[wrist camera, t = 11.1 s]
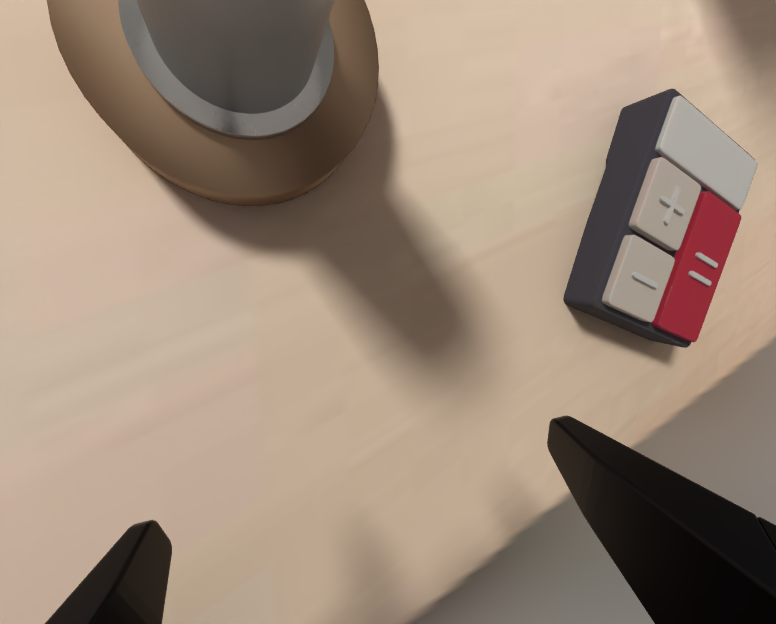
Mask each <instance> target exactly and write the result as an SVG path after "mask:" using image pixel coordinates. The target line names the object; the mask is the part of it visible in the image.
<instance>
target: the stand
mask: <svg viewBox="0 0 776 624" xmlns="http://www.w3.org/2000/svg"><path fill="white" fill-rule="evenodd" d="M47 4H48V9H49V15H50V21H51V26H52V29H53V32H54V35H55V38H56V42H57V45H58V48H59V51H60V53H61V55H62V57H63V59H64V61H65V63H66V66H67V68H68V70H69V72H70V74H71V76H72V77H73V79H74V81H75V82H76V84H77V85H78V87H79V89H80V90H81V92H82V93H83V95H84V97H85V98H86V99H87V100H88V102H89V103H90V104H91V106H92V107H93V108H94V109H95V111H96V112H97V113H98V114H99V116H100V117H101V118H102V119H103V120H104V121H105V122H106V124H107V125H108V126H109V127H110V128H111V129H112V130H113V131H114V132H115V133H116V134H117V135H118V136H119V138H120V139H121V140H122V141H123V142H124V143H125V144H126V145H127V146H128V147H129V148H130V149H131V150H132V151H133V152H134V153H135V154H136V155H137V156H138V157H139V158H140V159H141V160H142V161H143V162H144V163H146V164H147V165H148V166H149V167H150V168H152V169H153V170H154V171H155V172H157V173H158V174H160V175H161V176H163V177H164V178H166V179H167V180H169V181H170V182H172V183H173V184H175V185H177V186H179V187H181V188H183V189H185V190H187V191H189V192H191V193H194V194H196V195H199V196H202V197H205V198H207V199H210V200H215V201H219V202H223V203H227V204H235V205H244V206H262V205H269V204H276V203H280V202H284V201H288V200H291V199H294V198H296V197H298V196H301V195H303V194H305V193H307V192H309V191H310V190H312V189H314V188H315V187H317V186H318V185H320V184H321V183H322V182H323V181H324V180H325V179H327V178H328V177H329V176H330V175H331V174H332V173H333V171H334V170H335V169H336V168H337V167H338V166H339V165H340V163H341V162H342V161H343V160H344V159H345V158H346V156H347V155H348V154H349V153H350V152H351V150H352V149H353V148H354V147H355V145H356V144H357V142H358V141H359V139H360V138H361V136H362V134H363V133H364V130H365V128H366V126H367V124H368V122H369V120H370V117H371V114H372V110H373V107H374V104H375V99H376V93H377V88H378V73H379V64H378V49H377V43H376V38H375V32H374V28H373V24H372V21H371V17H370V14H369V11H368V8H367V6H366V3H365V1H364V0H335V2H334V5H333V8H332V11H331V14H330V17H329V22H330V26H331V30H332V35H333V43H334V64H333V72H332V76H331V80H330V83H329V86H328V88H327V91H326V93H325V96H324V98H323V100H322V102H321V103H320V105H319V107H318V109H317V110H316V111H315V112H314V114H313V115H312V116H311V117H310V118H309V119H308V120H307V121H306V122H305V123H304V124H302V125H301V126H299V127H298V128H296V129H295V130H293V131H291V132H289V133H287V134H284V135H282V136H278V137H275V138H271V139H264V140H243V139H235V138H231V137H226V136H222V135H219V134H217V133H214V132H211V131H209V130H206V129H204V128H203V127H201V126H199V125H197V124H195V123H193V122H192V121H190V120H188V119H187V118H185V117H184V116H182V115H181V114H180V113H178V112H177V111H176V110H175V109H174V108H172V107H171V106H170V105H169V104H168V103H167V102H166V101H165V100H164V99H163V98H162V97H161V96H160V95H159V94H158V93H157V92H156V90H155V89H154V88H153V87H152V85H151V84H150V83H149V82H148V80H147V79H146V77H145V75H144V74H143V72H142V71H141V69H140V68H139V66H138V64H137V62H136V60H135V58H134V56H133V54H132V52H131V50H130V48H129V46H128V43H127V40H126V38H125V35H124V32H123V29H122V24H121V20H120V15H119V5H118V0H47Z"/></svg>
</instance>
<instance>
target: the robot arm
mask: <svg viewBox="0 0 776 624" xmlns="http://www.w3.org/2000/svg"><path fill="white" fill-rule="evenodd" d="M547 444H548V449H549V452H550V454H551V456H552V458H553V460H554V461H555V463H556V465H557V467H558V469H559V471H560V473H561V475H562V476H563V478H564V480H565V482H566V484H567V486H568V488H569V490H570V492H571V493H572V495H573V497H574V499H575V501H576V503H577V505H578V506H579V508H580V510H581V511H582V513H583V515H584V517H585V518H586V520H587V522H588V523H589V525H590V526H591V528H592V529H593V531H594V532H595V533H596V535H597V537H598V538H599V540H600V541H601V543H602V544H603V546H604V547H605V549H606V550H607V552H608V553H609V555H610V556H611V558H612V559H613V561H614V563H615V564H616V566H617V567H618V568H619V570H620V572H621V573H622V575H623V576H624V578H625V579H626V581H627V582H628V584H629V585H630V587H631V588H632V590H633V591H634V593H635V594H636V596H637V597H638V599H639V600H640V602H641V603H642V605H643V606H644V608H645V609H646V611H647V612H648V614H649V615H650V617H651V618H652V620H653V621H654V623H655V624H776V525H774V524H772V523H770V522H768V521H767V520H765V519H763V518H761V517H756V516H755V514H753V513H751V512H749V511H747V510H746V509H744V508H742V507H740V506H738V505H736V504H734V503H732V502H731V501H728V500H727V499H725V498H723V497H721V496H719V495H717V494H715V493H714V492H712V491H710V490H708V489H706V488H704V487H702V486H700V485H699V484H697V483H695V482H693V481H691V480H689V479H687V478H685V477H683V476H682V475H680V474H678V473H676V472H674V471H672V470H670V469H668V468H666V467H665V466H663V465H661V464H659V463H657V462H655V461H653V460H651V459H649V458H648V457H645V456H644V455H642V454H640V453H638V452H636V451H635V450H633V449H631V448H629V447H627V446H625V445H623V444H621V443H619V442H618V441H616V440H614V439H612V438H610V437H608V436H606V435H604V434H603V433H601V432H599V431H597V430H595V429H593V428H591V427H589V426H587V425H586V424H584V423H582V422H580V421H578V420H576V419H574V418H572V417H570V416H562V417H558V418H554V419H552V420H551V421H550V425H549V433H548V441H547ZM171 555H172V545H171V542H170V540H169V538H168V537H167V535H166V534H165V532H164V531H163V530H162V528H161V527H160V525H159V524H158V523H157V522H156V521H154V520H149V521H145V522H141V523H137V524H135V525H133V526H131V527H130V528H129V529H128V530H127V531H126V532H125V533H124V534H123V535H122V537H121V538H120V539H119V540H118V541H117V542H116V543H115V545H114V546H113V547H112V548H111V549H110V550H109V551H108V553H107V554H106V555H105V556H104V557H103V558H102V559H101V561H100V562H99V563H98V564H97V565H96V566H95V567H94V568H93V570H92V571H91V572H90V573H89V574H88V575H87V576H86V578H85V579H84V580H83V581H82V582H81V583H80V584H79V586H78V587H77V588H76V589H75V590H74V591H73V592H72V593H71V595H70V596H69V597H68V598H67V599H66V600H65V601H64V603H63V604H62V605H61V606H60V607H59V608H58V609H57V611H56V612H55V613H54V614H53V615H52V616H51V617H50V618H49V620H48V621H47V622H46V623H45V624H162V618H163V611H164V604H165V597H166V590H167V583H168V576H169V569H170V562H171Z"/></svg>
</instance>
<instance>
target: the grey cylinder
mask: <svg viewBox="0 0 776 624" xmlns="http://www.w3.org/2000/svg"><path fill="white" fill-rule="evenodd" d="M334 2H335V0H118V5H119V15H120V20H121V24H122V29H123V32H124V35H125V38H126V40H127V43H128V46H129V48H130V50H131V52H132V54H133V56H134V58H135V60H136V62H137V64H138V66H139V68H140V69H141V71H142V72H143V74H144V75H145V77H146V79H147V80H148V82H149V83H150V84H151V85H152V87H153V88H154V89H155V90H156V92H157V93H158V94H159V95H160V96H161V97H162V98H163V99H164V100H165V101H166V102H167V103H168V104H169V105H170V106H171V107H172V108H174V109H175V110H176V111H177V112H178V113H180V114H181V115H182V116H184V117H185V118H187V119H188V120H190V121H192V122H193V123H195V124H197V125H199V126H201V127H203V128H204V129H206V130H209V131H211V132H214V133H217V134H219V135H222V136H226V137H231V138H235V139H243V140H264V139H271V138H275V137H278V136H282V135H284V134H287V133H289V132H291V131H293V130H295V129H296V128H298V127H299V126H301V125H302V124H304V123H305V122H306V121H307V120H308V119H309V118H310V117H311V116H312V115H313V114H314V112H315V111H316V110H317V109H318V107H319V105H320V103H321V102H322V100H323V98H324V96H325V93H326V91H327V88H328V86H329V83H330V80H331V76H332V72H333V64H334V43H333V35H332V30H331V26H330V22H329V17H330V14H331V11H332V8H333V5H334Z"/></svg>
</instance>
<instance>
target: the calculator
mask: <svg viewBox="0 0 776 624" xmlns="http://www.w3.org/2000/svg"><path fill="white" fill-rule="evenodd" d="M606 163H607V167H606V170H605V173H604V175H603V178H602V181H601V184H600V187H599V190H598V192H597V195H596V198H595V201H594V204H593V207H592V209H591V212H590V215H589V218H588V221H587V224H586V227H585V230H584V233H583V236H582V239H581V243H580V246H579V249H578V252H577V255H576V259H575V262H574V265H573V268H572V271H571V275H570V278H569V281H568V284H567V288H566V291H565V294H564V302H565V304H567V305H569V306H571V307H574V308H576V309H578V310H581V311H583V312H585V313H588V314H590V315H592V316H595V317H597V318H599V319H602V320H604V321H607V322H609V323H611V324H614V325H616V326H618V327H621V328H623V329H625V330H628V331H630V332H633V333H635V334H637V335H640V336H642V337H644V338H647V339H649V340H652V341H656V342H661V343H665V344H670V345H675V346H679V347H685V348H686V347H688V346H689V345H690V344H691V342H696V340H697V338H698V336H699V333H700V330H701V328H702V325H703V322H704V320H705V317H706V314H707V311H708V309H709V306H710V303H711V300H712V298H713V295H714V292H715V289H716V287H717V284H718V281H719V279H720V276H721V273H722V270H723V268H724V265H725V262H726V259H727V257H728V254H729V251H730V248H731V246H732V243H733V240H734V238H735V235H736V232H737V229H738V227H739V224H740V221H741V215H740V214H739V210H740V209H742V207H743V205H744V202H745V199H746V196H747V194H748V191H749V188H750V185H751V183H752V180H753V177H754V174H755V172H756V169H757V165H758V164H757V162H756V161H755V159H754V158H753V157H752V156H750V155H749V154H748V153H747V152H746V151H745V150H744V149H742V148H741V147H740V146H739V145H738V144H737V143H736V142H735V141H733V140H732V139H731V138H730V137H729V136H728V135H727V134H725V133H724V132H723V131H722V130H721V129H720V128H719V127H717V126H716V125H715V124H714V123H713V122H712V121H711V120H709V119H708V118H707V117H706V116H705V115H704V114H703V113H701V112H700V111H699V110H698V109H697V108H696V107H695V106H693V105H692V104H691V103H690V102H689V101H688V100H687V99H685V98H684V97H683V96H682V95H681V94H680V93H679V92H677V91H676V90H675V89H669V90H666V91H664V92H661V93H659V94H656V95H654V96H651V97H649V98H646V99H644V100H641V101H639V102H636V103H634V104H631V105H629V106H626V107H624V108H623V109H622V110H621V113H620V116H619V120H618V123H617V126H616V129H615V132H614V136H613V139H612V142H611V145H610V149H609V152H608V155H607V159H606Z"/></svg>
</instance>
